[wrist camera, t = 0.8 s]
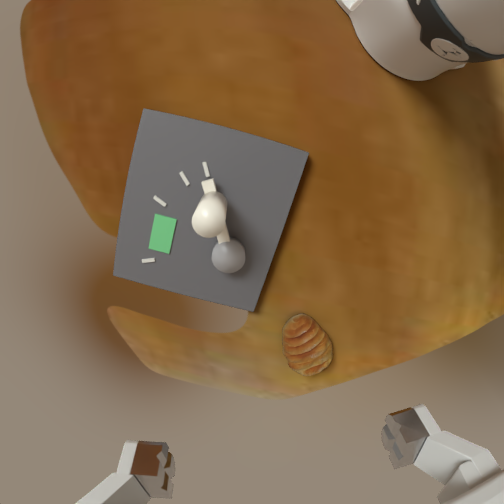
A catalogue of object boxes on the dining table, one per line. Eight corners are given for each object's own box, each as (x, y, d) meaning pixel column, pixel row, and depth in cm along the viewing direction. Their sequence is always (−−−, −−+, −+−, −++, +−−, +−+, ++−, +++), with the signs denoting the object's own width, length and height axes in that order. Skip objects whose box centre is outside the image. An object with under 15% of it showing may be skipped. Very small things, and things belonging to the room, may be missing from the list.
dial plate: (147, 109, 30) (143, 108, 29) (306, 151, 33) (309, 152, 32) (117, 269, 38) (112, 276, 36) (252, 305, 40) (253, 312, 39)
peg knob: (248, 262, 36) (251, 296, 29) (217, 269, 36) (213, 304, 29) (225, 174, 32) (221, 188, 25) (191, 183, 32) (179, 199, 25)
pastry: (269, 322, 42) (272, 339, 38) (316, 303, 41) (322, 319, 37) (292, 366, 45) (296, 384, 42) (334, 350, 44) (340, 367, 41)
